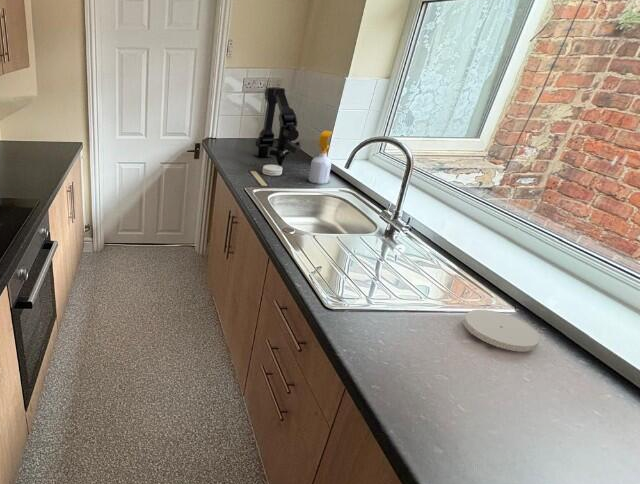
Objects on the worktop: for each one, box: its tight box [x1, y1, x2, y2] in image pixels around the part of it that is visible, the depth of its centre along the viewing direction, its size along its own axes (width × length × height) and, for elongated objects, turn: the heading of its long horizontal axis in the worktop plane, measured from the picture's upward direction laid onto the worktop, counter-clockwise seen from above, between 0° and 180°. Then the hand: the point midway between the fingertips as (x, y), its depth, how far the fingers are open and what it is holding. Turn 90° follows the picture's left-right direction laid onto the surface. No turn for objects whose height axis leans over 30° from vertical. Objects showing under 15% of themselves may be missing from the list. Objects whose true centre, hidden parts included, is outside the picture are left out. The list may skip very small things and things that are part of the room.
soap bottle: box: [307, 130, 334, 185], centre depth 201 cm, size 9×9×25 cm
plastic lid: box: [462, 309, 541, 353], centre depth 100 cm, size 14×14×2 cm
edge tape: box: [249, 170, 269, 187], centre depth 212 cm, size 24×3×1 cm, turn 178°
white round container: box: [261, 164, 284, 177], centre depth 218 cm, size 10×10×4 cm
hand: (279, 165), depth 225 cm, fingers closed
